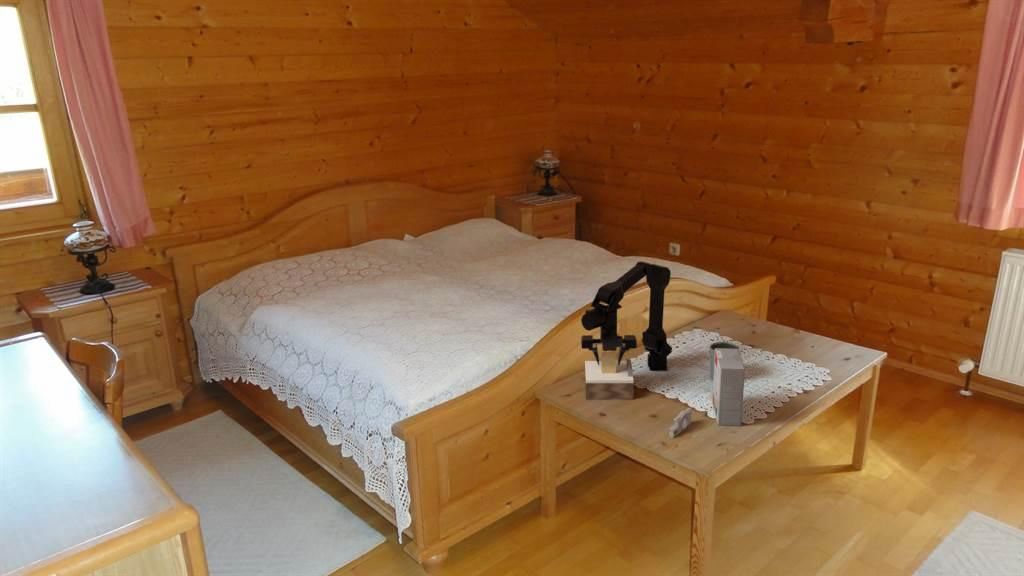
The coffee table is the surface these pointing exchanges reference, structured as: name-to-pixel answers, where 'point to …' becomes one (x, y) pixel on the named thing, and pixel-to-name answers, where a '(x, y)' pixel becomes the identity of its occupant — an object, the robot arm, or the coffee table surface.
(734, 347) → the drinking glass
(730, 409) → the hard drive box
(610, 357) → the block
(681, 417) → the garden wall model
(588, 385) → the storage box
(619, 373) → the box lid
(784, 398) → the coffee table surface
